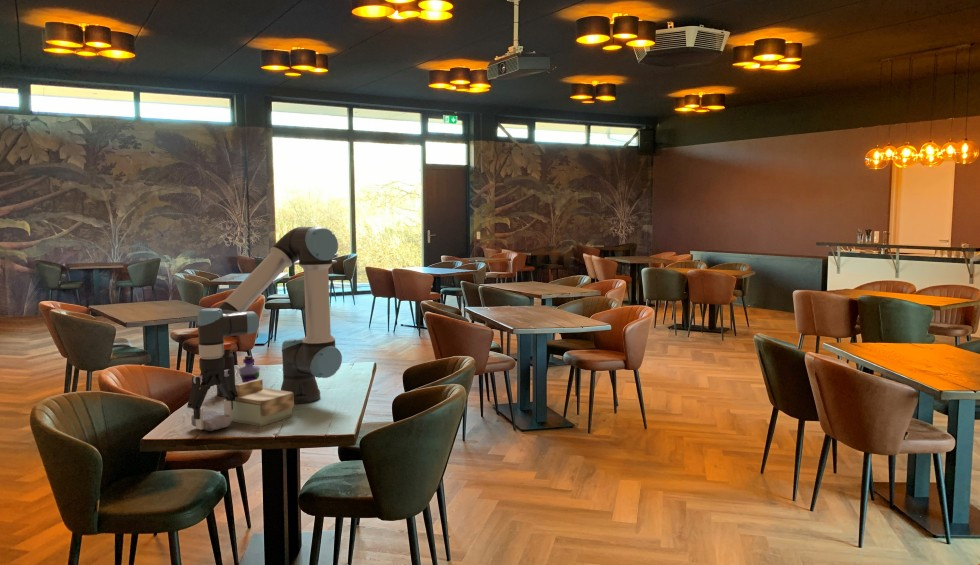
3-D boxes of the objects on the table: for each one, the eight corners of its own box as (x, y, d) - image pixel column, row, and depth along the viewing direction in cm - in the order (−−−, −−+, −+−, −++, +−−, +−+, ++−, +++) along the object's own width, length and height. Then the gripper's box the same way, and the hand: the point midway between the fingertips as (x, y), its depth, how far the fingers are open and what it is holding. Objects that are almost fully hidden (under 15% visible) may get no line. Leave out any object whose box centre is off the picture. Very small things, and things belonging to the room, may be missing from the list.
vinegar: (218, 393, 280) (215, 342, 279) (236, 391, 282) (234, 341, 280) (216, 397, 274) (213, 345, 272) (234, 395, 275) (232, 344, 274)
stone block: (216, 424, 238) (187, 424, 231) (218, 409, 239) (190, 410, 231) (235, 431, 231) (207, 432, 223) (238, 417, 231) (209, 417, 223)
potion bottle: (258, 386, 291) (257, 357, 290) (236, 387, 289) (235, 358, 288) (262, 382, 299) (261, 353, 298) (240, 382, 298) (239, 354, 297)
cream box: (263, 411, 252) (262, 391, 252) (291, 416, 246) (291, 396, 245) (230, 420, 240) (230, 400, 240) (260, 426, 233) (259, 405, 233)
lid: (261, 401, 252) (260, 377, 252) (295, 406, 244) (294, 382, 244) (229, 410, 240) (228, 385, 240) (263, 416, 232) (262, 390, 232)
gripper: (232, 350, 241) (234, 414, 243) (172, 361, 221) (175, 431, 223) (248, 352, 237) (250, 417, 239) (188, 364, 217) (191, 435, 219)
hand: (214, 424), depth 231 cm, fingers closed on stone block, 10 cm apart
